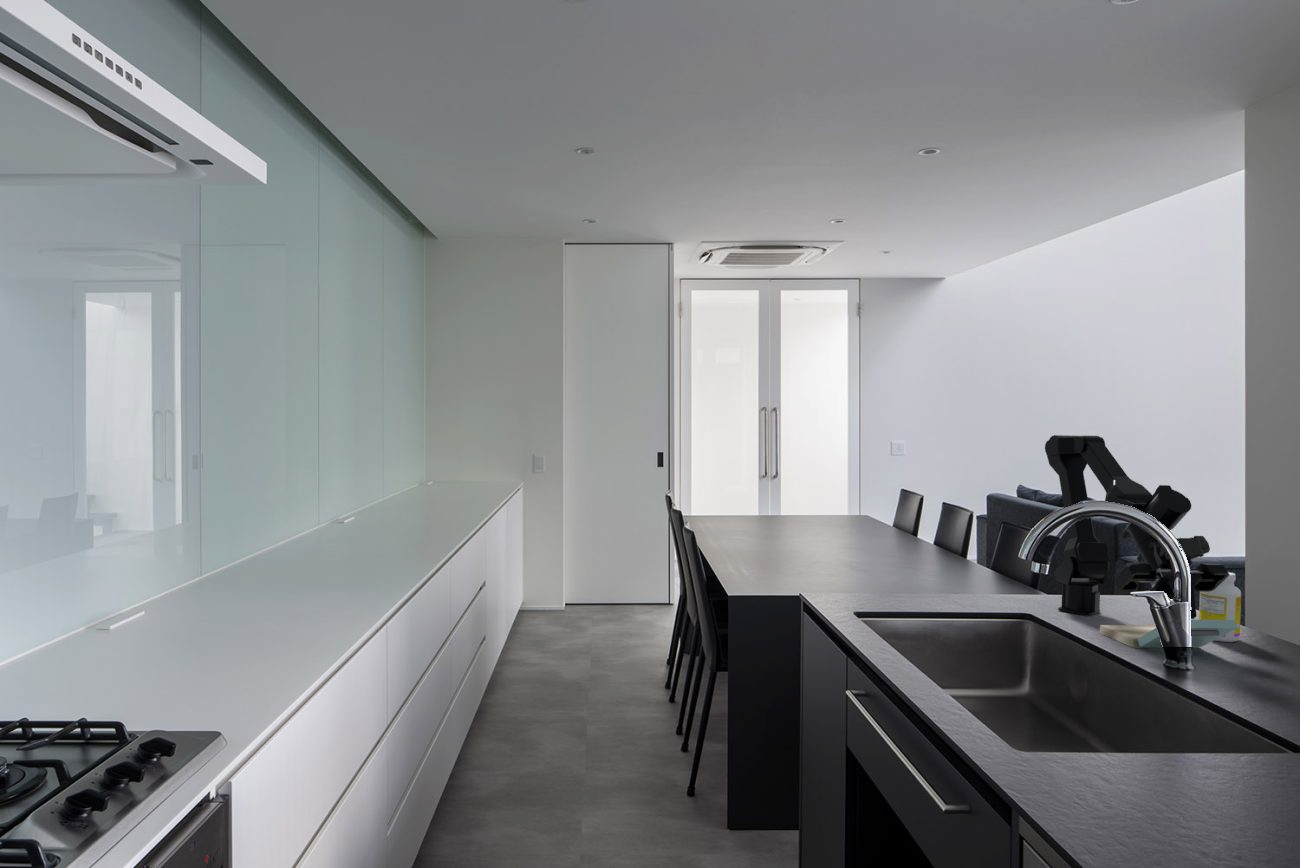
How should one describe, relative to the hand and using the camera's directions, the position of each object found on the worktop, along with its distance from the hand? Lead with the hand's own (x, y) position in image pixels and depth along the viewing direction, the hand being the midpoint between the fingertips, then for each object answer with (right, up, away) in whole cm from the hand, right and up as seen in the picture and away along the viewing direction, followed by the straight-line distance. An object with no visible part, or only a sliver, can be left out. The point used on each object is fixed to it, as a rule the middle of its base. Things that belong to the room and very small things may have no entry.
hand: (1193, 617), depth 148 cm
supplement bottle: (+14, -7, +14) cm, 21 cm away
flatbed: (-1, -7, +12) cm, 13 cm away
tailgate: (-1, -6, +6) cm, 8 cm away
